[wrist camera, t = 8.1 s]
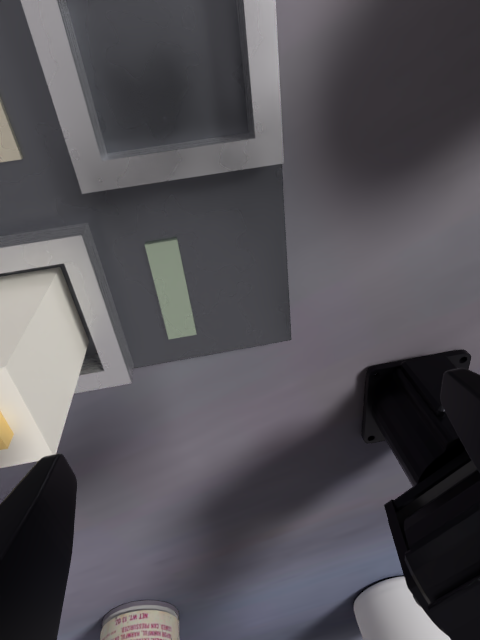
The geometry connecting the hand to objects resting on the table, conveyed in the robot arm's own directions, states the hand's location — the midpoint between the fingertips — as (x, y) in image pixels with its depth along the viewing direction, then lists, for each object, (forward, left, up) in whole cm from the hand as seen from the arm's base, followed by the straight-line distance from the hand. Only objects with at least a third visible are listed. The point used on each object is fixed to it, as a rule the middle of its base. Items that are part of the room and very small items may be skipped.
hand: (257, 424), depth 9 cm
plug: (-1, +9, -11) cm, 14 cm away
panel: (+3, +5, -12) cm, 13 cm away
